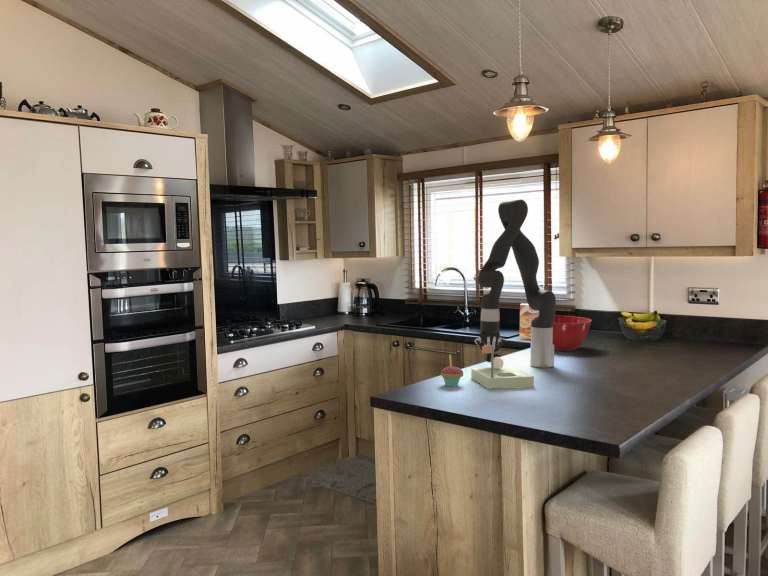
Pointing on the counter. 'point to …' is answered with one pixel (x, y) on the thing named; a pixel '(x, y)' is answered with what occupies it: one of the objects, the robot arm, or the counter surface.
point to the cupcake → (451, 374)
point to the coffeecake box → (526, 320)
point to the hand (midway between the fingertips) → (489, 362)
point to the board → (501, 375)
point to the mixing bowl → (569, 332)
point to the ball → (497, 363)
